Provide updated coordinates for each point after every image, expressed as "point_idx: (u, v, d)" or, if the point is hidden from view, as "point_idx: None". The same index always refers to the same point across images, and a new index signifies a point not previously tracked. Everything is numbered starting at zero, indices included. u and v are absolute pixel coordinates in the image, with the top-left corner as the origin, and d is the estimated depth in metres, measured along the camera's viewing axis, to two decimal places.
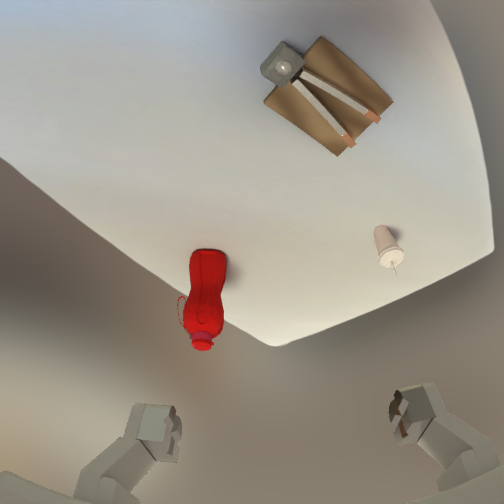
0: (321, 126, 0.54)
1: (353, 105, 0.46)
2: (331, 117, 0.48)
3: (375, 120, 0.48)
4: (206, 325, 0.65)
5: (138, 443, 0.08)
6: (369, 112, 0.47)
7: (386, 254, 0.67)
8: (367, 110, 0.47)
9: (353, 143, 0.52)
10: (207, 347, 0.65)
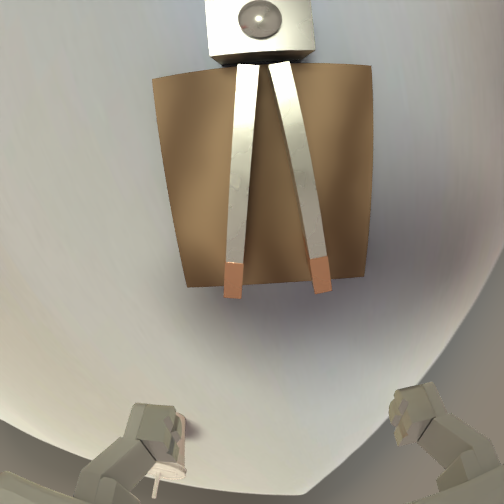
0: (205, 213, 0.25)
1: (309, 223, 0.20)
2: (243, 207, 0.20)
3: (318, 286, 0.23)
4: None
5: (138, 443, 0.08)
6: (323, 262, 0.22)
7: (157, 464, 0.32)
8: (324, 256, 0.22)
9: (237, 293, 0.23)
10: None
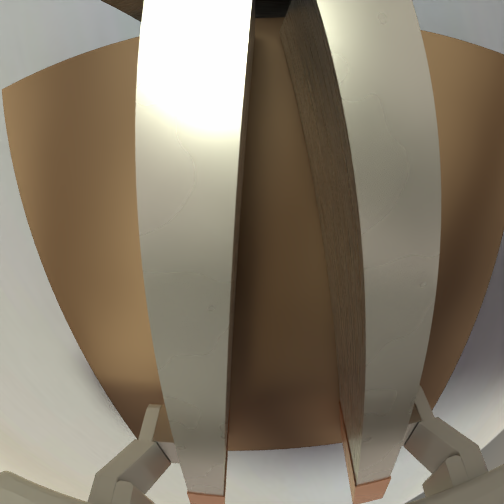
0: (146, 369, 0.11)
1: (372, 456, 0.07)
2: (214, 450, 0.07)
3: (361, 500, 0.09)
4: None
5: (154, 445, 0.08)
6: (380, 484, 0.08)
7: None
8: (384, 478, 0.08)
9: None
10: None
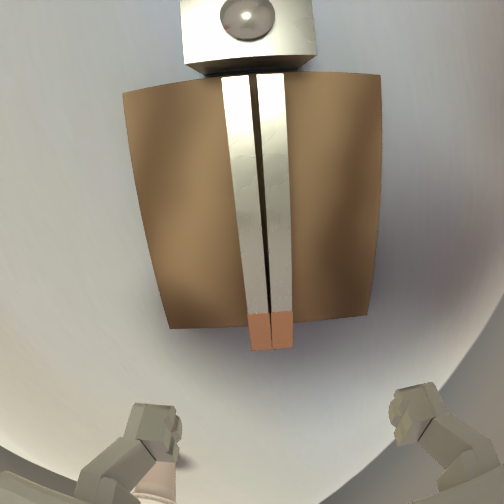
0: (186, 249, 0.21)
1: (276, 273, 0.17)
2: (259, 251, 0.17)
3: (277, 341, 0.20)
4: None
5: (138, 443, 0.08)
6: (287, 318, 0.19)
7: (147, 500, 0.28)
8: (288, 311, 0.18)
9: (266, 344, 0.20)
10: None
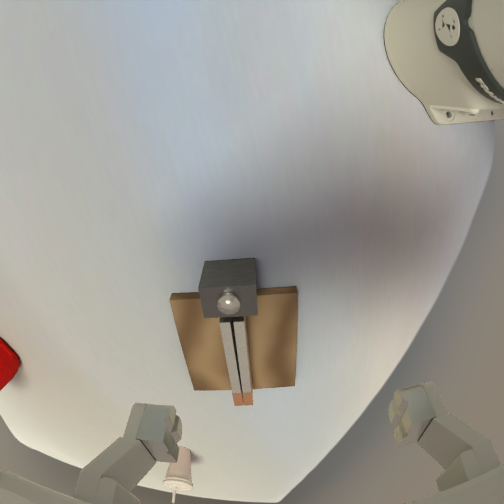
0: (203, 360, 0.44)
1: (243, 380, 0.40)
2: (236, 374, 0.39)
3: (246, 402, 0.42)
4: None
5: (138, 443, 0.08)
6: (249, 394, 0.41)
7: (175, 481, 0.50)
8: (249, 392, 0.41)
9: (241, 403, 0.42)
10: None
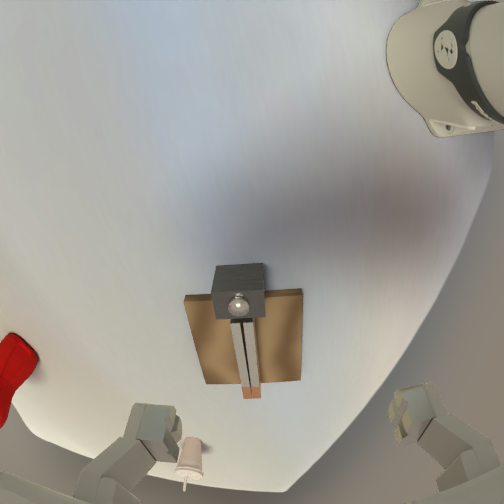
0: (215, 357, 0.47)
1: (252, 375, 0.43)
2: (245, 370, 0.42)
3: (254, 396, 0.45)
4: None
5: (138, 443, 0.08)
6: (257, 388, 0.44)
7: (186, 470, 0.54)
8: (258, 386, 0.44)
9: (249, 397, 0.45)
10: None
